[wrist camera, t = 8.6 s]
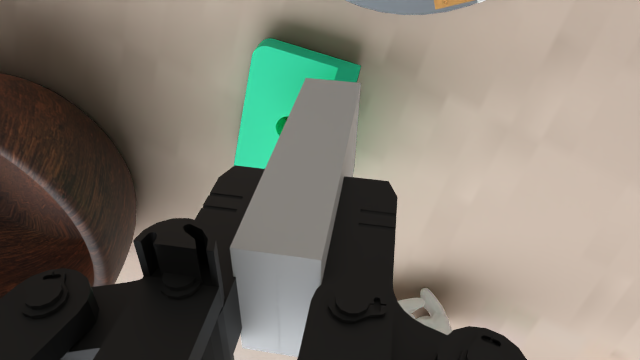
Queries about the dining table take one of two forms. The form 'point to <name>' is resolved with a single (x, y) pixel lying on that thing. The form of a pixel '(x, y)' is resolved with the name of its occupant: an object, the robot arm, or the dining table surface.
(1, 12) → the dining table surface
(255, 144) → the camera mount
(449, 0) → the ring nut
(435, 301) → the white animal figurine
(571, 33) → the dining table surface
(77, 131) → the wooden bowl
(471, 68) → the dining table surface
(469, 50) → the dining table surface
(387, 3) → the base plate
